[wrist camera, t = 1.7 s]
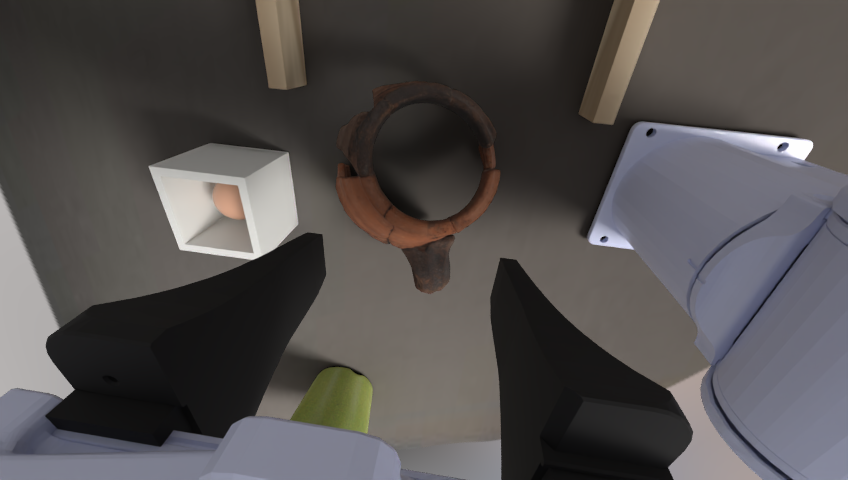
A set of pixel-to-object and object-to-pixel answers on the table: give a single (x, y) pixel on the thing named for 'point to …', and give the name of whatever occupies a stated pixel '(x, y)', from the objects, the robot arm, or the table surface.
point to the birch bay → (604, 85)
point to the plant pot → (337, 400)
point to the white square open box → (259, 190)
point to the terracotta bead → (228, 201)
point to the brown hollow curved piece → (374, 210)
